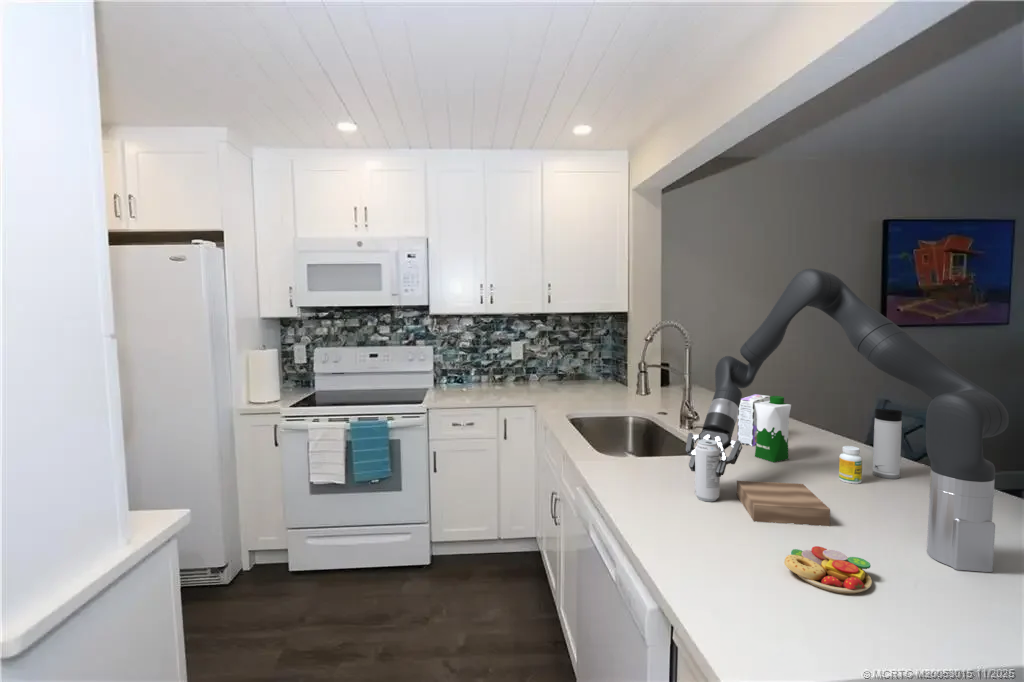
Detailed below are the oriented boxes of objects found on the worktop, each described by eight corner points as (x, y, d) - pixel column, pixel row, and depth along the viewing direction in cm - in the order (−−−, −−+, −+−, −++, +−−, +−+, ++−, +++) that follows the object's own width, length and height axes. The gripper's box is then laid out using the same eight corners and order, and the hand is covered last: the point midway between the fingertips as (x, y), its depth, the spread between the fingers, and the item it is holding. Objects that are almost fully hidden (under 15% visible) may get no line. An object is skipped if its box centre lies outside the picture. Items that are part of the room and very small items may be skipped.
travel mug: (874, 477, 143) (877, 409, 141) (870, 470, 148) (873, 404, 147) (901, 481, 140) (904, 411, 138) (896, 473, 146) (899, 406, 144)
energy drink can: (707, 492, 134) (708, 437, 133) (724, 500, 128) (725, 443, 127) (689, 495, 132) (690, 440, 130) (706, 504, 126) (706, 446, 125)
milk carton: (793, 459, 160) (794, 398, 158) (773, 463, 156) (775, 401, 155) (768, 452, 168) (770, 394, 166) (749, 456, 164) (751, 396, 163)
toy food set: (777, 576, 93) (777, 560, 93) (799, 551, 102) (799, 536, 102) (863, 606, 83) (863, 588, 83) (878, 576, 93) (879, 559, 92)
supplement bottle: (844, 476, 144) (845, 443, 143) (865, 481, 140) (866, 448, 139) (835, 480, 141) (836, 447, 141) (856, 485, 137) (857, 451, 136)
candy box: (754, 436, 188) (754, 393, 187) (770, 439, 184) (771, 395, 182) (736, 443, 179) (737, 398, 178) (752, 446, 175) (753, 400, 174)
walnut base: (829, 526, 113) (830, 509, 112) (753, 521, 116) (754, 504, 115) (802, 498, 128) (802, 483, 128) (736, 495, 131) (736, 480, 131)
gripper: (691, 407, 139) (673, 459, 130) (746, 414, 129) (730, 471, 121) (698, 422, 143) (681, 474, 135) (751, 430, 134) (737, 486, 125)
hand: (705, 472), depth 128 cm, fingers closed on energy drink can, 6 cm apart
